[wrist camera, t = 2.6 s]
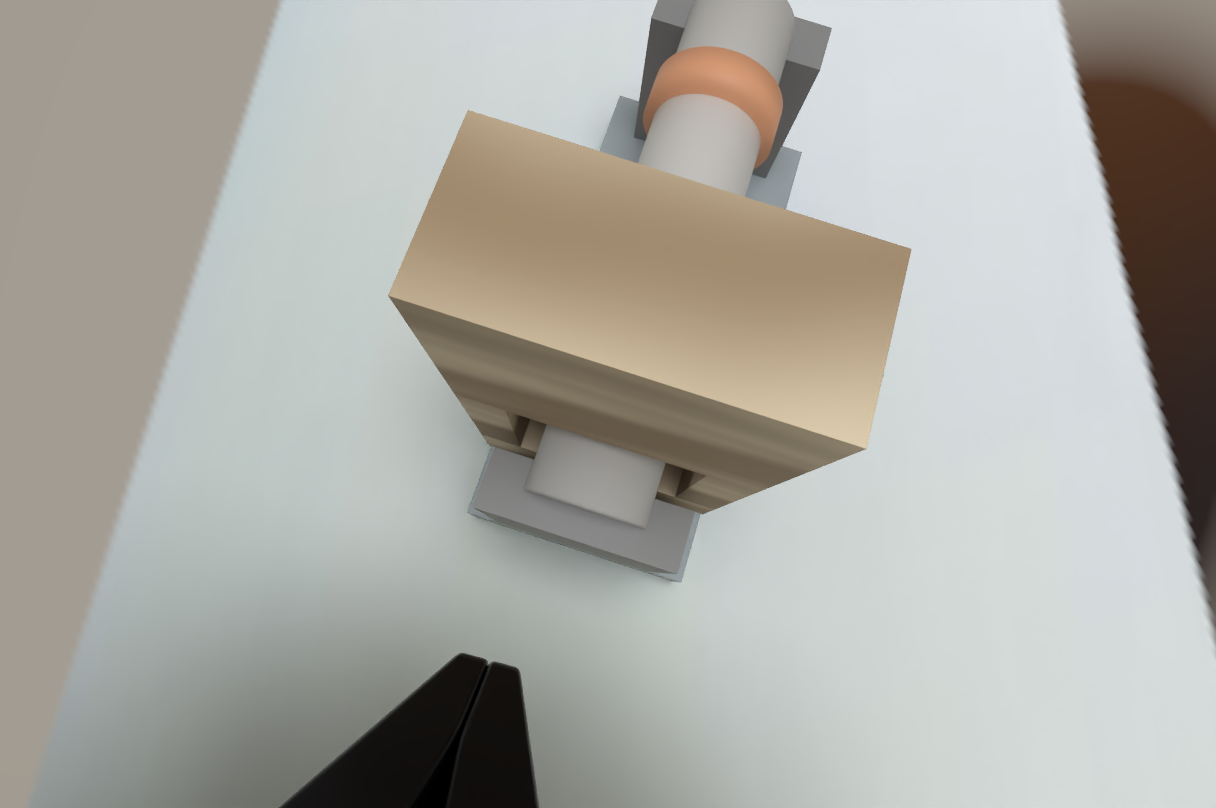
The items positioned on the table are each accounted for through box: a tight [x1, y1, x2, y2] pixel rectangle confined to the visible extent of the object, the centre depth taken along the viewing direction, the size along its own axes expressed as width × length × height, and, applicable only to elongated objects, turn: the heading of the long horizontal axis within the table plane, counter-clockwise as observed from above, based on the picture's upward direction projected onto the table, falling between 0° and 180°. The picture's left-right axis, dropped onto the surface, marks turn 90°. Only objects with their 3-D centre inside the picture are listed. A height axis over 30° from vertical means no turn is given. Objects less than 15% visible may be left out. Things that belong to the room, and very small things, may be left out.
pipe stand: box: [467, 0, 832, 582], centre depth 20 cm, size 16×7×9 cm, turn 162°
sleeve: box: [388, 110, 911, 514], centre depth 15 cm, size 3×7×11 cm, turn 72°
